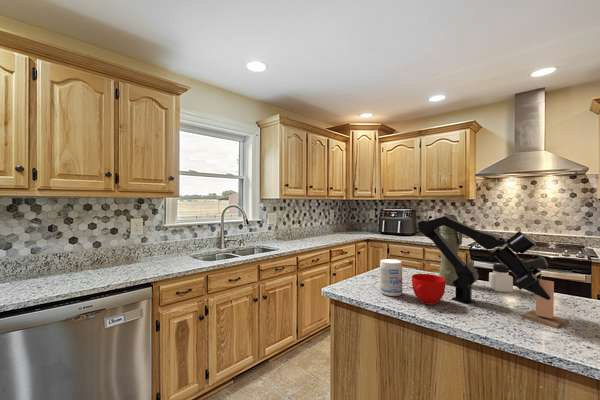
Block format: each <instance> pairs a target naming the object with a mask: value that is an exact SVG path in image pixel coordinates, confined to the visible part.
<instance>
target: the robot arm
mask: <svg viewBox="0 0 600 400" xmlns="http://www.w3.org/2000/svg"><path fill="white" fill-rule="evenodd" d="M457 220H458V219H457ZM457 220H454V219H452V218H450V217H449V216H443V215H442V216H440V217H438V218H433V219H425V220H424V219H423V220H420V221H419V222H418V224H417V229H418V231H419V232H420V233H421V234H423V236H425V237H426V238H428V239H430V240H431V242H433V243H434V245H435V246H436V248H437V249H438V250H439V251H440V253H441V252H442V253H443V254H444V256H445V257H446V258H447V259H448V261H449V262H450V263H451V264H452V265H453V267H454V269H455V272H456V275H457V276H458V279H456V280H455V281H453V284H454V286H453V287H454V288H455V296H454V297H451V300H454V301H456V302H459V303H462V304H466V305H468V304H470V303H475V302H476V299H473V298H472V296H473V294H472V290H473V289H472V286H473V285H474V284H475V283H476V282H477V281H478V280H479V277H480V276H479V272H478V269H477V268H476V267H475V266H474V265H473V264H472V262H469V263H467V262H465V261H464V260H463V259H462V258H461V257H460V256H459V254H458V255H457V254H456V252H455V251H454V250H453V249H452V248H451V246H450V245H449V244H448V243H447V242H446V241H445V239H444V238H443V237H442V236H441V232H439V229H438V227H440V228H441V226H443V225H445V226H447V227H449V228H451V229H453V230H455V231H457V233H458V234H459V233H462V235H464V236H466V237H469V238H470V239H471V240H473V241H474V242H475V243H476V244H478V245H479V246H481V247H482V248H484V249H486V250H489V252H488V254H489V256H488V258H489V259H490V260H491V259H493V258H496V259H497V260H498V261H499V262H500V263H501V264H504V265H505V266H506V267H507V270H508V271H509V272H511V273H512V274H513V275H514V276H515V279H516V280H515V284H514V285H515V286H516V287H517V289H519V290H520V291H521V290H525V291H527V292H529V293H532V294H535V296H536V295H538V296H540V297H543V298H545V299H547V300H549V299H550V297H549V295H548V294H547V293H546V292H545V290H544V289H543V288H542V287H541V285H540V284H539V279H541V280H542V273H541V272H542V269H545V268H548V267H549V263H548V262H547V259H546V258H545V257H544V256H540V255H539V254H534V255H532V259H531V258H530V259H527V260H526V259H524V258H520V257H519V255H518V254H521V255H523V254H525V253H526V252H527V251H530V250H531V249H532V248H534V247H535V246H537V243H536V241H534V240H533V239H532V237H530V236H527V235H526V234H525V233H523V232H522V231H521V230H519V231H516V232H515V234H514V235H512V236H511V237H509V238H504V237H500V236H499V235H498V234H496V233H491V232H488V231H485V230H480V229H477V228H474V227H472V226H470V225H468V224H465V223H464V222H461V221H459V220H458V221H457ZM503 246H504V247H503ZM502 247H503V248H502ZM495 248H496V249H495ZM493 249H494V250H493ZM492 250H493V251H492ZM541 268H542V269H541Z"/></svg>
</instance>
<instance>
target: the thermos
mask: <svg viewBox="0 0 600 400" xmlns="http://www.w3.org/2000/svg"><path fill="white" fill-rule="evenodd" d="M442 216H449V217H450V218H452V219H454V220H457V221H459V220H458V217H457V215H455V214H443V215H442ZM438 229H439V232H440V230H441V232H440V235H441V236H442V237H443V238H444V239H445V241H446V242H447V243H448V244H449V245H450V246H451V248H452V249H453V250H454V251H455V252H456V254H457V255H458V256H459V250H460V246H461V245H462V244H463V234H462V233H459V232H457V231H455V230H453V229H451V228H449V227H447V226H445V225H443V226H440V227H438ZM438 270H439V271H438V272H439V274H438V276H440V277H443V278H444V279H445V280H446V284H445V286H453V287H454V284H453V281H455V280H456V279H458V276H457V275H456V272H455V269H454V267H453V265H452V264H451V263H450V262H449V261H448V259H447V258H446V257H445V256H444V254H443V253H442V252H441V251H440V268H439V269H438Z"/></svg>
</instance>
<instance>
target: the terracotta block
mask: <svg viewBox="0 0 600 400" xmlns="http://www.w3.org/2000/svg"><path fill="white" fill-rule="evenodd" d="M539 284H540V285H541V287H542V288H543V289H544V290H545V292H546V293H547V294H548V295H549V297H550V299H549V300H547V299H545V298H543V297H540V296H538V295H536V294H535V310H536V315H538V316H543V317H547V318H551V319H553V315H554V309H555V308H554V299H555V293H554V291H555V289H554V288H555V281H552V280H548V279H547V280H546V279H542V278H541V279H539Z"/></svg>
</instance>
